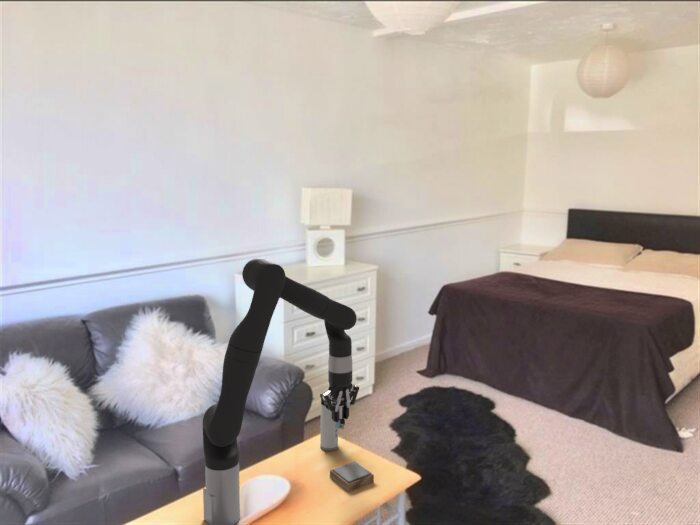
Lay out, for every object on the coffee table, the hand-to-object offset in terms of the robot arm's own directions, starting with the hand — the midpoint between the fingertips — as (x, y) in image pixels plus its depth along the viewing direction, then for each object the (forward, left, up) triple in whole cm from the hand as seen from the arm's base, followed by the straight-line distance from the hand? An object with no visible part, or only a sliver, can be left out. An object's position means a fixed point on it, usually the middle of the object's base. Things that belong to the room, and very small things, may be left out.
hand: (340, 419), depth 178 cm
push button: (0, 0, -2) cm, 2 cm away
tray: (+2, -3, -20) cm, 20 cm away
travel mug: (+8, +19, -20) cm, 29 cm away
